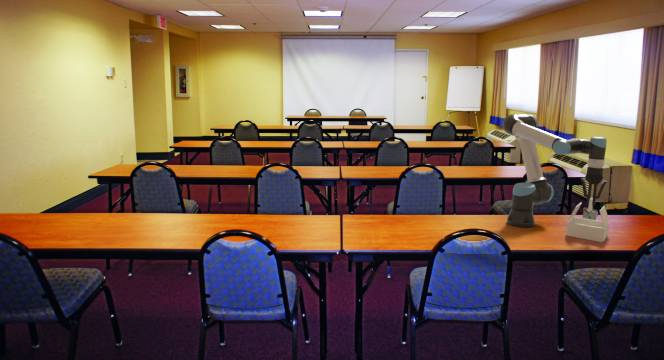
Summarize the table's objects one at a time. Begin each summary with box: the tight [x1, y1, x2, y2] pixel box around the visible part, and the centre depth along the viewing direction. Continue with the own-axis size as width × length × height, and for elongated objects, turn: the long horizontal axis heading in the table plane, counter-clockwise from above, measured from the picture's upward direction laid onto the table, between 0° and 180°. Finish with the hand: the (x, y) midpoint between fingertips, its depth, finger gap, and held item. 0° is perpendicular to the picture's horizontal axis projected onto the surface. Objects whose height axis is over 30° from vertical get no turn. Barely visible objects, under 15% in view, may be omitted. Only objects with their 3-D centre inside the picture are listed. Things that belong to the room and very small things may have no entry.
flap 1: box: [567, 201, 582, 222], centre depth 276 cm, size 9×13×1 cm
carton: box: [565, 216, 610, 243], centre depth 273 cm, size 18×15×8 cm
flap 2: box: [599, 205, 610, 227], centre depth 268 cm, size 9×13×1 cm
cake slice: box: [582, 207, 599, 221], centre depth 290 cm, size 12×6×10 cm, turn 168°
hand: (590, 210), depth 271 cm, fingers closed
